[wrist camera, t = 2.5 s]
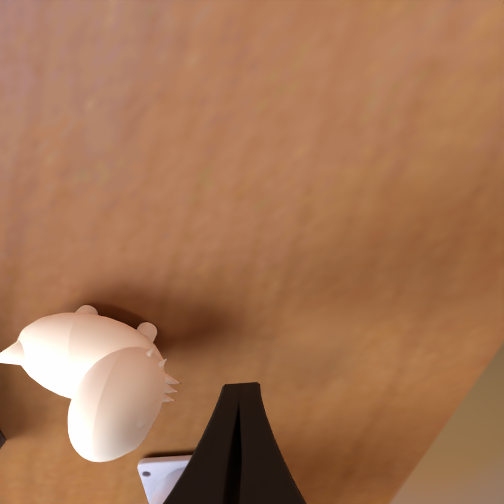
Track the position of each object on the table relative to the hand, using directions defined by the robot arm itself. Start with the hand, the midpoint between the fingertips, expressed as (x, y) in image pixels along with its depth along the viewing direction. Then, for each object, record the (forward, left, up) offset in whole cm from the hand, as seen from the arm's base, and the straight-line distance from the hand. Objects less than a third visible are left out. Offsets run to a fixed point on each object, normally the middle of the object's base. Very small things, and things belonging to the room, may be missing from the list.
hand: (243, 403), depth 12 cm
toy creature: (0, +7, -5) cm, 9 cm away
